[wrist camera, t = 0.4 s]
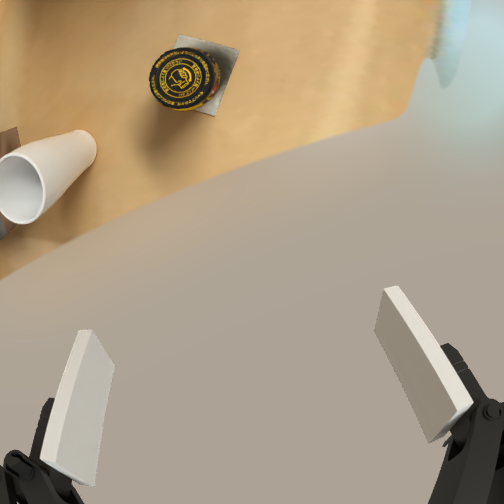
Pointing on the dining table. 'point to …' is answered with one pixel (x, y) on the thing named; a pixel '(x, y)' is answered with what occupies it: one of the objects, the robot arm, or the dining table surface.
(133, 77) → the dining table surface
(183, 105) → the condiment
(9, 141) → the gray-topped wooden box
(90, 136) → the white tapered cylinder
